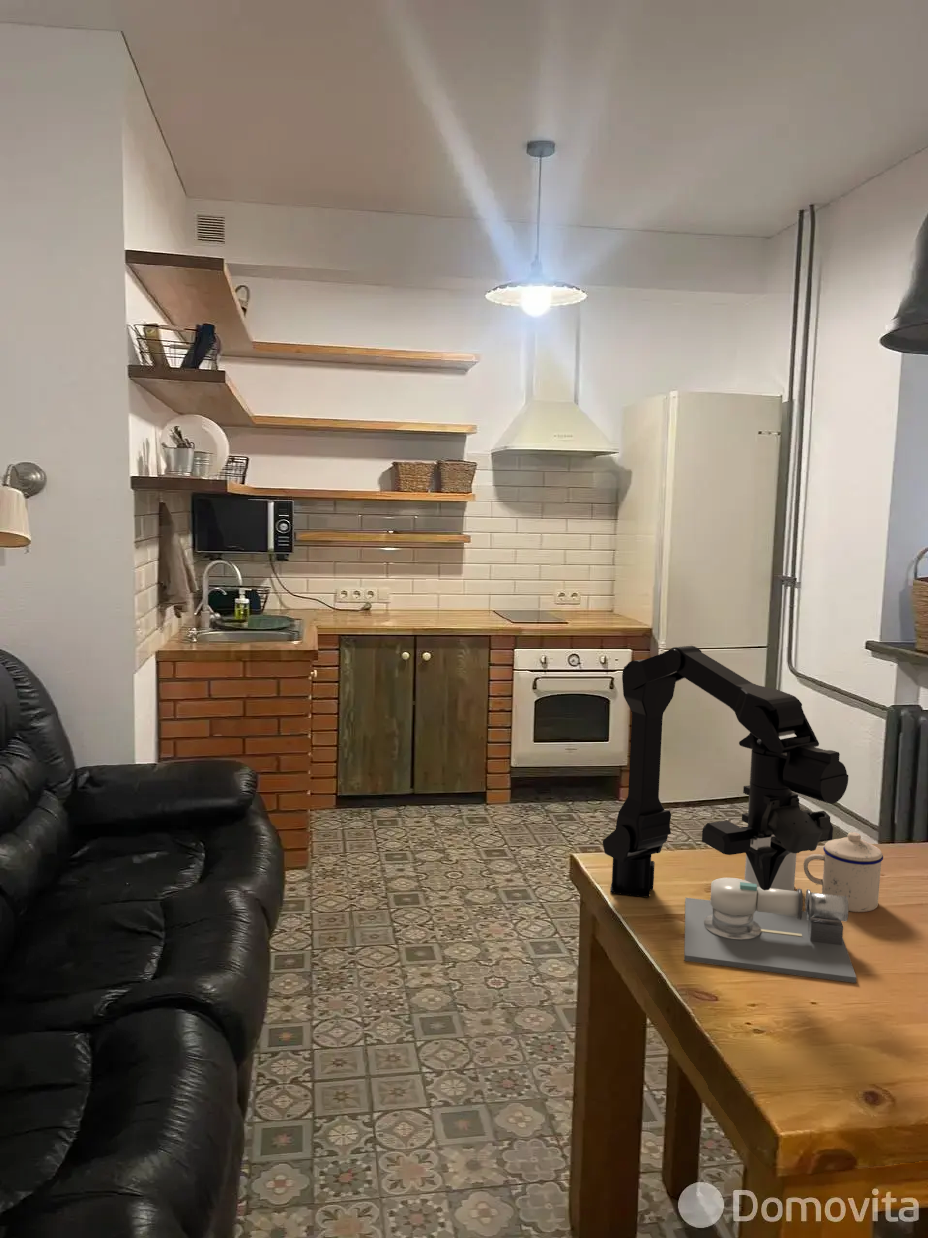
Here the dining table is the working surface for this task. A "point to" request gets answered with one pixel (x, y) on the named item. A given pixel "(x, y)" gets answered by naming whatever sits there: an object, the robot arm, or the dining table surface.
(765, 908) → the elbow
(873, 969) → the dining table surface
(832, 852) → the teacup with lid
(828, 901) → the duct run
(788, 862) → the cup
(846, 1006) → the dining table surface
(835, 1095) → the dining table surface
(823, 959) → the board
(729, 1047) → the dining table surface
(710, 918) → the duct stub
